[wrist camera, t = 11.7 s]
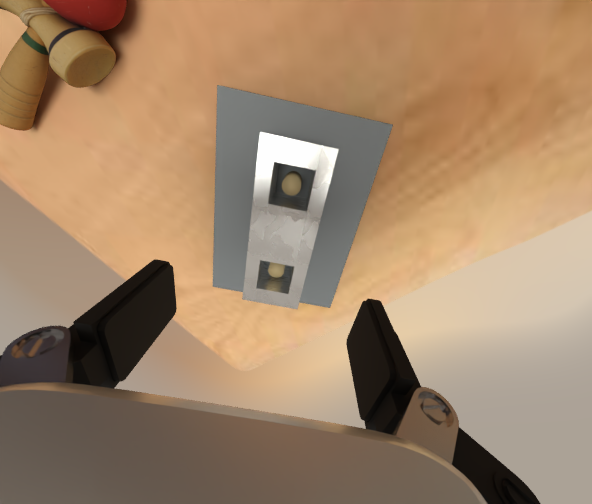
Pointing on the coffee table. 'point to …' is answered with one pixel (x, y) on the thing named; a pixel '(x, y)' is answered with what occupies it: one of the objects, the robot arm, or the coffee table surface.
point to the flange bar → (284, 219)
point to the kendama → (55, 51)
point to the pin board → (242, 180)
